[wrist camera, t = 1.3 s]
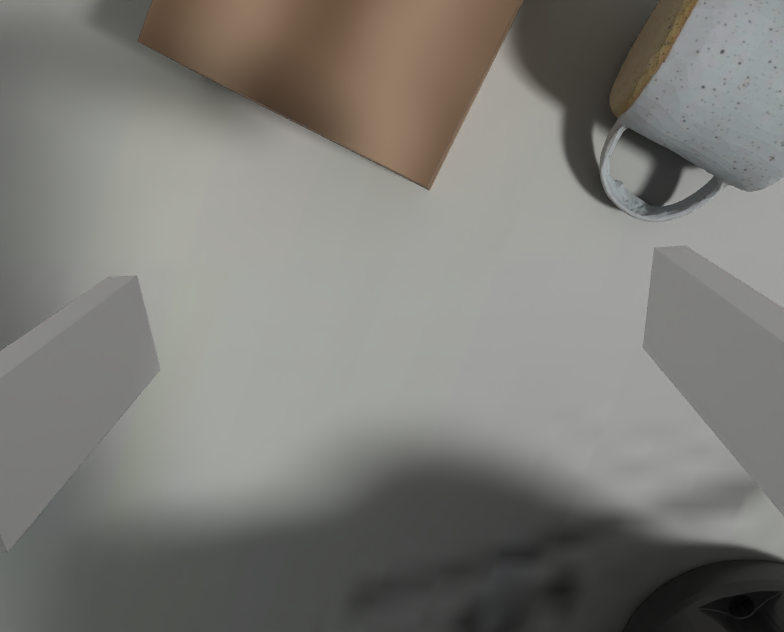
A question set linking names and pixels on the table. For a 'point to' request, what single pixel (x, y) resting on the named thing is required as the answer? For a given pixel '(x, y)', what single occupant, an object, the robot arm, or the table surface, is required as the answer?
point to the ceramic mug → (704, 97)
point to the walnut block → (346, 65)
